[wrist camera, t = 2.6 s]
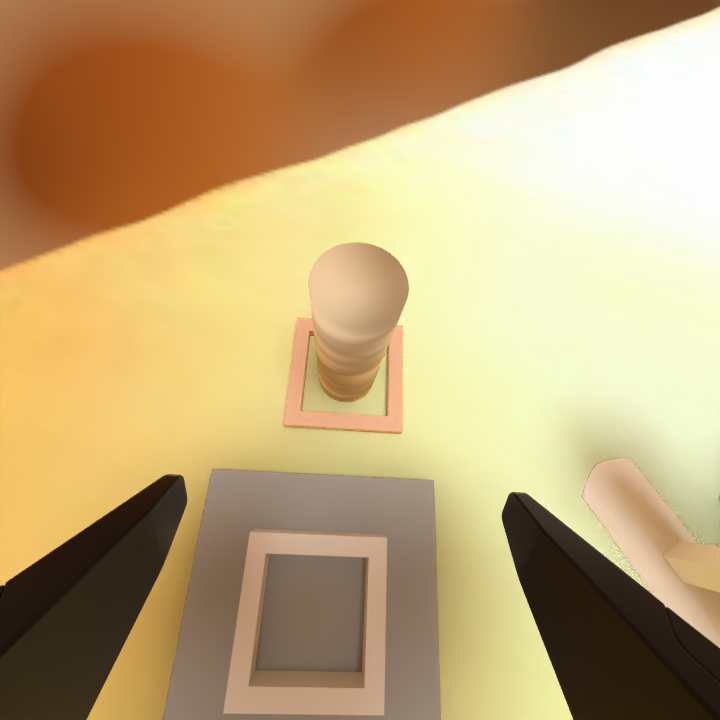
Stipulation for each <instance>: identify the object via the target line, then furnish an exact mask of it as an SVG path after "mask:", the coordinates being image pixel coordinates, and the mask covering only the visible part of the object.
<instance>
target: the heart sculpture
mask: <svg viewBox="0 0 720 720" xmlns="http://www.w3.org/2000/svg"><path fill="white" fill-rule="evenodd" d="M582 498H583V499H584V500H585V502H586V503H587V504H588V506H589V507H590V509H591V510H592V511H593V513H594V514H595V515H596V517H597V518H598V520H599V521H600V522H601V524H602V525H603V526H604V528H605V529H606V531H607V532H608V533H609V535H610V536H611V537H612V539H613V540H614V541H615V543H616V544H617V546H618V547H619V548H620V550H621V551H622V552H623V554H624V555H625V557H626V558H627V559H628V561H629V562H630V563H631V565H632V566H633V568H634V569H635V570H636V572H637V573H638V574H639V576H640V577H641V579H642V580H643V581H644V583H645V584H646V585H647V587H648V588H649V589H650V591H651V592H652V594H653V595H654V596H655V597H656V598H657V599H659V600H660V601H661V602H662V603H664V605H665V607H669V608H670V609H671V610H672V611H674V612H675V613H676V614H677V615H679V616H680V617H681V618H682V619H684V620H685V621H686V622H687V623H689V624H690V625H691V626H692V627H694V628H695V629H696V630H698V631H699V632H700V633H701V634H703V635H704V636H705V637H707V638H708V639H709V640H710V641H712V642H713V643H714V644H715V645H717V646H718V647H719V648H720V547H717V546H711V545H705V544H699V543H698V542H697V541H696V540H695V539H694V537H693V536H692V535H691V534H690V532H689V531H688V530H687V529H686V527H685V526H684V525H683V524H682V522H681V521H680V520H679V519H678V517H677V516H676V515H675V514H674V512H673V511H672V510H671V509H670V507H669V506H668V505H667V504H666V502H665V501H664V500H663V499H662V497H661V496H660V495H659V493H658V492H657V491H656V490H655V488H654V487H653V486H652V485H651V483H650V482H649V481H648V480H647V478H646V477H645V476H644V475H643V473H642V472H641V471H640V470H639V468H638V467H637V466H636V465H635V463H634V462H633V461H632V460H631V459H613V460H606V461H603V462H601V463H598V464H596V466H595V467H594V468H593V470H592V471H591V473H590V475H589V477H588V480H587V482H586V485H585V488H584V492H583V495H582Z"/></svg>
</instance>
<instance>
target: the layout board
mask: <svg viewBox="0 0 720 720" xmlns="http://www.w3.org/2000/svg"><path fill="white" fill-rule="evenodd" d="M163 720H441V710H440V676H439V642H438V608H437V573H436V539H435V505H434V480H416V479H397V478H378V477H359V476H340V475H320V474H301V473H282V472H263V471H244V470H225V469H212V470H211V475H210V480H209V485H208V490H207V495H206V500H205V505H204V510H203V516H202V521H201V526H200V531H199V536H198V541H197V546H196V551H195V556H194V562H193V567H192V572H191V577H190V582H189V587H188V592H187V597H186V602H185V608H184V613H183V618H182V623H181V628H180V633H179V638H178V643H177V648H176V654H175V659H174V664H173V669H172V674H171V679H170V684H169V689H168V694H167V700H166V705H165V710H164V715H163Z"/></svg>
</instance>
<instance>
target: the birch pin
mask: <svg viewBox="0 0 720 720" xmlns="http://www.w3.org/2000/svg"><path fill="white" fill-rule="evenodd" d="M308 285H309V294H310V302H311V311H312V319H313V327H314V336H315V344H316V352H317V361H318V369H319V377H320V383H321V386H322V388H323V389H324V391H325V392H326V393H327V394H328V395H329V396H330V397H332V398H333V399H335V400H338V401H341V402H352V401H356V400H358V399H360V398H362V397H364V396H365V395H366V394H367V393H368V392H369V390H370V389H371V387H372V384H373V382H374V379H375V377H376V374H377V372H378V369H379V367H380V364H381V362H382V359H383V357H384V355H385V352H386V350H387V347H388V345H389V342H390V340H391V337H392V335H393V332H394V330H395V327H396V325H397V322H398V320H399V317H400V315H401V313H402V310H403V308H404V305H405V303H406V300H407V297H408V290H409V286H408V279H407V275H406V273H405V271H404V269H403V267H402V265H401V264H400V263H399V261H398V260H397V259H396V258H395V257H394V256H392V255H391V254H390V253H388V252H387V251H385V250H384V249H382V248H380V247H377V246H374V245H371V244H366V243H346V244H342V245H338V246H336V247H333V248H331V249H329V250H328V251H326V252H325V253H323V254H322V255H321V256H320V257H319V258H318V259H317V261H316V262H315V263H314V265H313V267H312V269H311V272H310V275H309V283H308Z"/></svg>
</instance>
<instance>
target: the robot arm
mask: <svg viewBox="0 0 720 720" xmlns="http://www.w3.org/2000/svg"><path fill="white" fill-rule="evenodd" d="M186 504H187V493H186V487H185V481H184V477H183V476H182V475H174V474H167V475H164V476H163V477H161V478H160V479H158V480H157V481H155V482H154V483H152V484H151V485H149V486H148V487H146V488H145V489H143V490H142V491H140V492H139V493H137V494H136V495H134V496H133V497H131V498H130V499H129V500H127V501H126V502H124V503H123V504H121V505H120V506H118V507H117V508H115V509H114V510H112V511H111V512H109V513H108V514H106V515H105V516H103V517H102V518H100V519H99V520H97V521H96V522H94V523H93V524H92V525H90V526H89V527H87V528H86V529H84V530H83V531H81V532H80V533H78V534H77V535H75V536H74V537H72V538H71V539H69V540H68V541H66V542H65V543H63V544H62V545H60V546H59V547H57V548H56V549H55V550H53V551H52V552H50V553H49V554H47V555H46V556H44V557H43V558H41V559H40V560H38V561H37V562H35V563H34V564H32V565H31V566H29V567H28V568H26V569H25V570H23V571H22V572H20V573H19V574H18V575H16V576H15V577H13V578H12V579H10V580H9V581H7V582H6V584H5V586H4V585H1V586H0V720H86V719H87V717H88V715H89V713H90V711H91V709H92V707H93V705H94V703H95V701H96V699H97V697H98V695H99V693H100V691H101V689H102V687H103V685H104V683H105V681H106V679H107V677H108V675H109V673H110V671H111V669H112V667H113V665H114V663H115V661H116V659H117V657H118V655H119V653H120V651H121V649H122V647H123V645H124V643H125V641H126V639H127V637H128V635H129V633H130V631H131V629H132V627H133V625H134V623H135V621H136V619H137V617H138V615H139V613H140V611H141V609H142V607H143V605H144V603H145V601H146V599H147V597H148V595H149V593H150V591H151V589H152V587H153V585H154V583H155V581H156V579H157V577H158V575H159V573H160V571H161V569H162V567H163V564H164V562H165V559H166V557H167V555H168V552H169V549H170V547H171V544H172V541H173V539H174V536H175V534H176V531H177V528H178V526H179V523H180V520H181V518H182V515H183V513H184V510H185V507H186ZM502 521H503V525H504V529H505V532H506V536H507V539H508V543H509V546H510V550H511V553H512V557H513V560H514V564H515V568H516V571H517V574H518V577H519V580H520V583H521V586H522V588H523V591H524V594H525V596H526V599H527V601H528V604H529V606H530V609H531V612H532V614H533V617H534V619H535V622H536V624H537V627H538V630H539V632H540V635H541V637H542V640H543V642H544V645H545V648H546V650H547V653H548V655H549V658H550V661H551V663H552V666H553V668H554V671H555V673H556V676H557V679H558V681H559V684H560V686H561V689H562V691H563V694H564V697H565V699H566V702H567V704H568V707H569V710H570V712H571V715H572V717H573V720H720V648H719V647H718V646H717V645H715V644H714V643H713V642H712V641H710V640H709V639H708V638H707V637H705V636H704V635H703V634H701V633H700V632H699V631H698V630H696V629H695V628H694V627H692V626H691V625H690V624H689V623H687V622H686V621H685V620H684V619H682V618H681V617H680V616H679V615H677V614H676V613H675V612H674V611H672V610H671V609H670V608H669V607H665V605H664V603H662V602H661V601H660V600H659V599H657V598H656V597H655V596H654V595H652V594H651V593H650V592H649V591H647V590H646V589H645V588H644V587H642V586H641V585H640V584H639V583H637V582H636V581H635V580H634V579H632V578H631V577H630V576H629V575H627V574H626V573H625V572H624V571H623V570H621V569H620V568H619V567H618V566H616V565H615V564H614V563H613V562H611V561H610V560H609V559H608V558H606V557H605V556H604V555H603V554H601V553H600V552H599V551H598V550H596V549H595V548H594V547H593V546H591V545H590V544H589V543H588V542H586V541H585V540H584V539H583V538H581V537H580V536H579V535H578V534H576V533H575V532H574V531H573V530H571V529H570V528H569V527H568V526H566V525H565V524H564V523H563V522H562V521H560V520H559V519H558V518H557V517H555V516H554V515H553V514H552V513H550V512H549V511H548V510H547V509H545V508H544V507H543V506H542V505H540V504H539V503H538V502H537V501H535V500H534V499H533V498H532V497H530V496H529V495H528V494H526V493H521V492H511V493H510V494H509V496H508V498H507V501H506V504H505V506H504V509H503V512H502Z"/></svg>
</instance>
